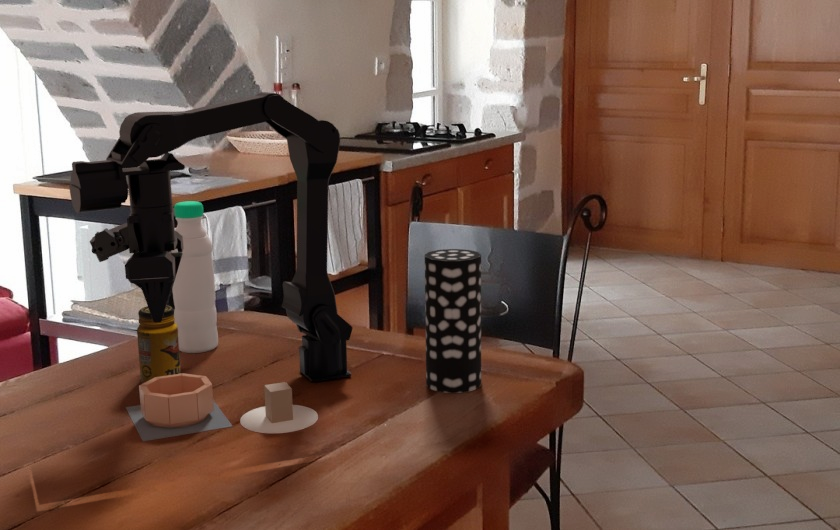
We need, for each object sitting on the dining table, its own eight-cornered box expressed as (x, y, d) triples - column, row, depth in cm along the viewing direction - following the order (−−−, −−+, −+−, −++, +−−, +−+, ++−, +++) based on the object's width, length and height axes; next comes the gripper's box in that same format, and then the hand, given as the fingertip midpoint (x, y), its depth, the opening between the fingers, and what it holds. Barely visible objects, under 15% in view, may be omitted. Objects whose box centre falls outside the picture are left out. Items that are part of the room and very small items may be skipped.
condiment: (190, 385, 163) (185, 309, 161) (136, 397, 159) (130, 318, 156) (173, 373, 169) (168, 299, 167) (120, 383, 165) (114, 308, 162)
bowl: (203, 401, 155) (201, 370, 154) (218, 422, 146) (216, 390, 145) (138, 411, 151) (135, 379, 150) (149, 433, 143) (147, 400, 142)
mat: (209, 398, 157) (209, 394, 157) (233, 430, 145) (232, 426, 145) (125, 411, 153) (125, 407, 153) (142, 445, 140) (142, 441, 140)
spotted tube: (452, 397, 157) (451, 263, 152) (414, 383, 163) (412, 254, 158) (492, 384, 162) (492, 254, 157) (454, 371, 168) (454, 246, 164)
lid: (304, 406, 154) (303, 370, 153) (328, 431, 145) (327, 393, 144) (232, 418, 150) (230, 380, 149) (252, 444, 141) (250, 405, 139)
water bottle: (168, 348, 182) (158, 202, 177) (204, 339, 187) (195, 197, 182) (190, 356, 177) (180, 207, 172) (226, 347, 182) (218, 202, 176)
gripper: (101, 196, 156) (111, 300, 160) (80, 220, 138) (91, 336, 142) (179, 192, 158) (187, 295, 161) (168, 215, 140) (177, 330, 143)
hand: (160, 313), depth 152 cm, fingers open, 9 cm apart
